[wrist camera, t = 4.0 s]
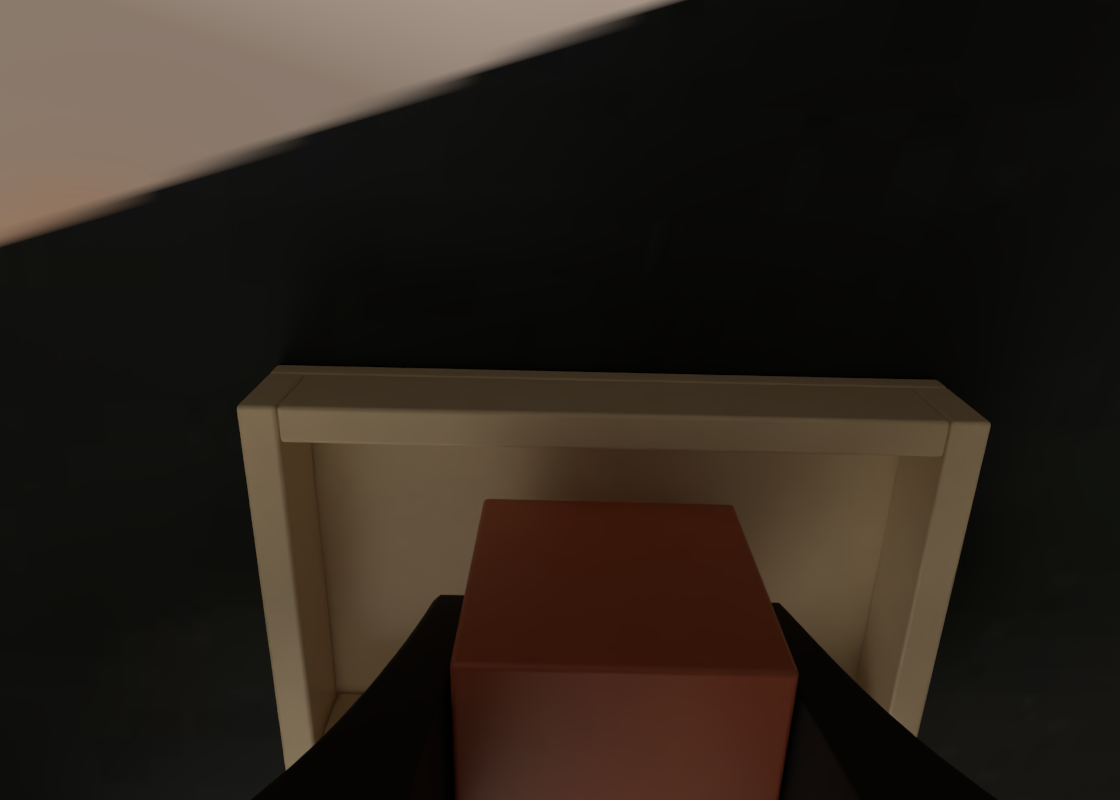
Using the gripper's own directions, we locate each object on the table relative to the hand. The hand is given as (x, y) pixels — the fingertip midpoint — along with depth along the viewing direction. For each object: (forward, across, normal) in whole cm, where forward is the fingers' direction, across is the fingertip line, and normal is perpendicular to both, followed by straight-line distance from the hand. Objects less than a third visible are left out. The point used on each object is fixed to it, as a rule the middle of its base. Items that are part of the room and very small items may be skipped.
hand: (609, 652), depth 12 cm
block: (+1, 0, 0) cm, 1 cm away
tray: (+3, 0, 0) cm, 3 cm away
